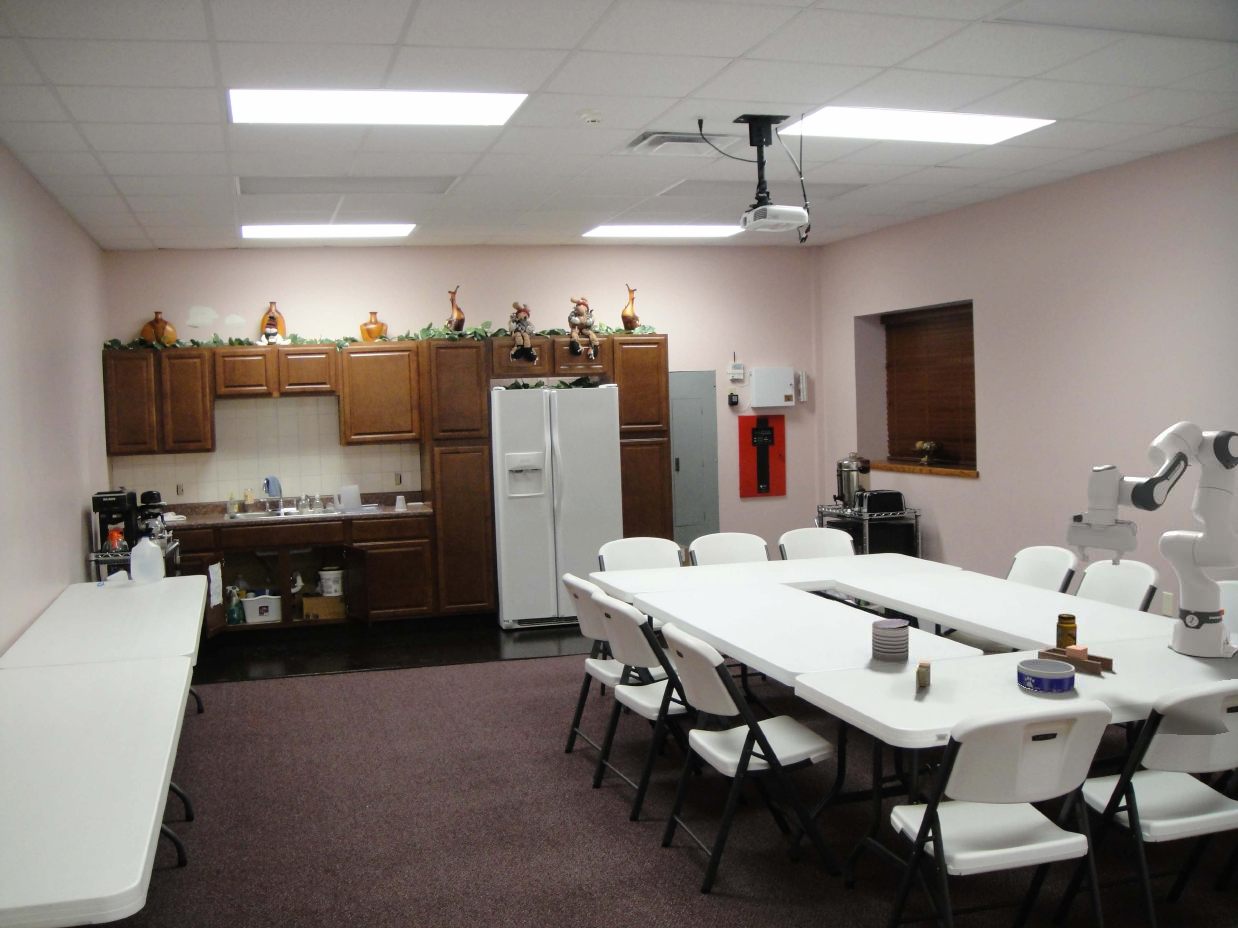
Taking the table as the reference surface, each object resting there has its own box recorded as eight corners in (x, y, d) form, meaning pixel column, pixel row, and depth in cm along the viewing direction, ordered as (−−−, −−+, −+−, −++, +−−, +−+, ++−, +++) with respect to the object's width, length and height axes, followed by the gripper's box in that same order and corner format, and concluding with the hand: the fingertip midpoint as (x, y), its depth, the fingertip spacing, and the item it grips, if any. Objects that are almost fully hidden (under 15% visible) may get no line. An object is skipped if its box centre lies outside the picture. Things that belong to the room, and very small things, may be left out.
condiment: (1080, 654, 319) (1081, 617, 319) (1053, 653, 320) (1054, 617, 319) (1072, 648, 327) (1073, 612, 326) (1046, 648, 327) (1046, 612, 327)
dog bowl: (1008, 686, 285) (1008, 665, 285) (1028, 675, 296) (1028, 655, 296) (1063, 696, 275) (1064, 675, 274) (1082, 684, 286) (1082, 664, 285)
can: (907, 664, 309) (908, 626, 309) (870, 661, 313) (870, 624, 312) (909, 655, 320) (909, 618, 319) (873, 652, 324) (873, 616, 323)
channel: (1051, 657, 315) (1051, 646, 315) (1112, 669, 300) (1112, 658, 300) (1037, 662, 310) (1038, 651, 310) (1099, 674, 295) (1099, 663, 295)
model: (930, 685, 288) (930, 659, 288) (927, 695, 278) (927, 668, 278) (918, 684, 289) (919, 658, 289) (915, 694, 279) (916, 667, 279)
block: (1073, 663, 308) (1073, 644, 307) (1087, 666, 304) (1087, 647, 304) (1065, 666, 305) (1066, 647, 305) (1080, 669, 301) (1080, 649, 301)
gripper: (1141, 520, 297) (1139, 566, 298) (1074, 514, 313) (1072, 558, 314) (1132, 521, 293) (1130, 568, 294) (1064, 515, 309) (1063, 559, 310)
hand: (1100, 563), depth 304 cm, fingers open, 8 cm apart
